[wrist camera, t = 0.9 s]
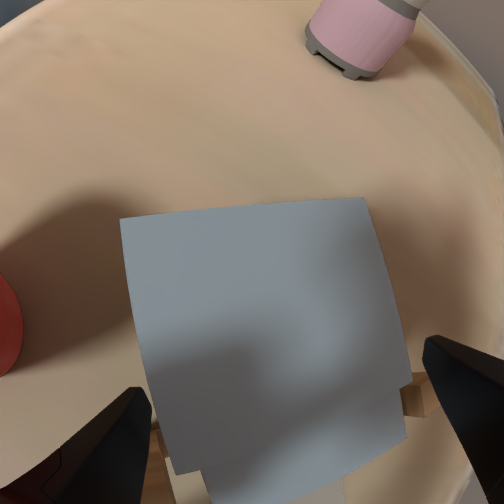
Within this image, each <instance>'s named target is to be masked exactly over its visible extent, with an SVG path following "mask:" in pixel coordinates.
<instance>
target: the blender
mask: <svg viewBox="0 0 504 504" xmlns="http://www.w3.org/2000/svg"><path fill="white" fill-rule="evenodd" d="M431 1H432V0H323V1H322V3H321V4H320V6H319V8H318V9H317V11H316V13H315V14H314V16H313V18H312V19H311V20H310V21H309V23H308V24H307V26H306V28H305V34H306V36H307V38H308V40H307V43H306V48H307V49H308V50H309V52H310V53H311V54H312V55H315V54H317V53H318V52H320V53H321V54H322V55H324V56H325V57H326V58H327V59H329V60H330V61H332V62H333V63H335V64H336V65H338V66H340V67H341V68H343V69H344V71H343V73H342V74H343V76H344V77H346V78H349V79H352V80H356V79H357V78H358V77H359V76H364V77H373V76H375V75H376V74H377V73H378V72H379V71H380V70H381V69H382V67H383V66H384V65H385V64H386V62H387V61H388V60H389V59H390V58H391V57H392V56H393V55H394V54H395V53H396V52H397V51H398V50H399V49H400V47H401V46H402V45H403V44H404V43H405V42H406V41H407V40H408V38H409V37H410V36H411V34H412V32H413V30H414V27H415V23H416V18H417V16H418V13H419V11H420V10H421V9H422V8H423V7H424V6H425V5H426V4H428V3H430V2H431Z"/></svg>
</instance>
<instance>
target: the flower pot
mask: <svg viewBox="0 0 504 504" xmlns="http://www.w3.org/2000/svg"><path fill="white" fill-rule="evenodd" d="M22 341H23V317H22V312H21V308H20V305H19V302H18V300H17V298H16V295H15V293H14V292H13V290H12V289H11V287H10V286H9V284H8V283H7V281H6V280H5V279H4V277H3V276H2V274H1V273H0V377H1V376H3V375H4V374H5V373H6V372H7V371H9V370H10V369H11V367H12V366H13V365H14V363H15V361H16V360H17V357H18V355H19V353H20V349H21V345H22Z"/></svg>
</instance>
